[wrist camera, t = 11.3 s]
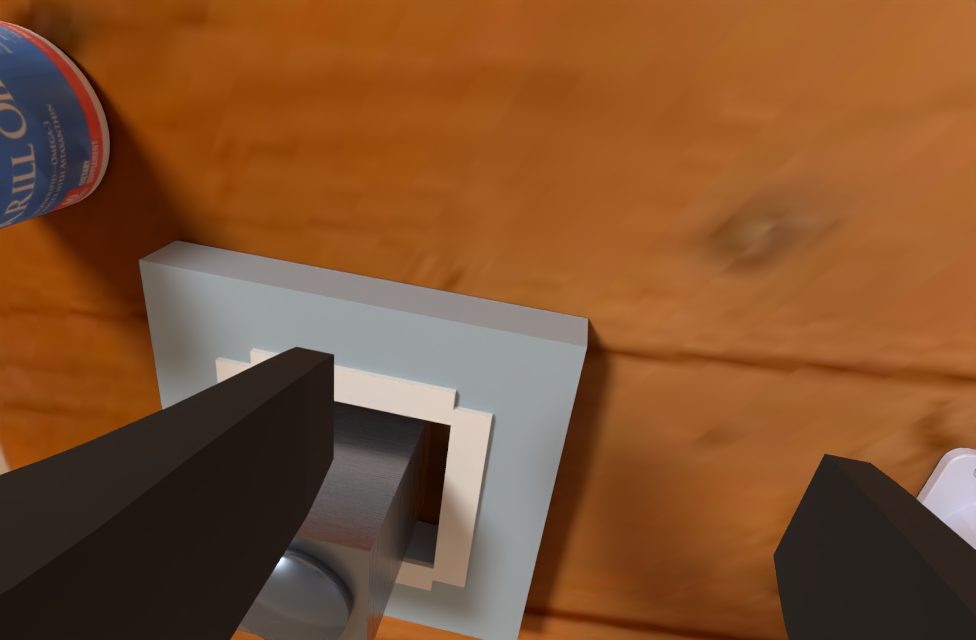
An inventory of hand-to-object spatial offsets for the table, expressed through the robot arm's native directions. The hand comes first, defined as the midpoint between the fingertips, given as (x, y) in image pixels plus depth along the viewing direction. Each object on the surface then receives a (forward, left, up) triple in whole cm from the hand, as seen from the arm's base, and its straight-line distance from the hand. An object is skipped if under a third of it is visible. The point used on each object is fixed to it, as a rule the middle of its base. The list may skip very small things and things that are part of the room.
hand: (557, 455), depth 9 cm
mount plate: (+6, +9, -9) cm, 14 cm away
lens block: (+6, +9, -10) cm, 14 cm away
